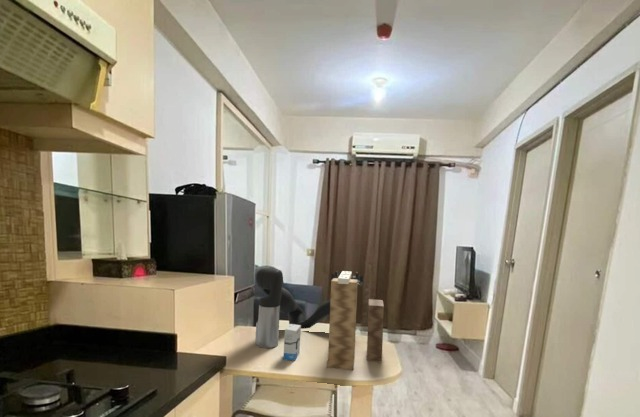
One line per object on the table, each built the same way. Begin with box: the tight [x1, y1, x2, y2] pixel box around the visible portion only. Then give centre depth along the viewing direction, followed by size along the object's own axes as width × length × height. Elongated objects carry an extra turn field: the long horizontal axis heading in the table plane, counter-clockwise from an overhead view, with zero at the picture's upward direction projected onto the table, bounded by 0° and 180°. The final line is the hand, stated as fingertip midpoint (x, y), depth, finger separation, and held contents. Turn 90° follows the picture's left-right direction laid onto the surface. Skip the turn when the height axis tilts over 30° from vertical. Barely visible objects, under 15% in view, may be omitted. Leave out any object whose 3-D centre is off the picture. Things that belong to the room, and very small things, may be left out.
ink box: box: [283, 324, 302, 361], centre depth 138 cm, size 8×5×12 cm, turn 168°
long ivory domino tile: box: [338, 270, 353, 284], centre depth 138 cm, size 4×22×2 cm, turn 172°
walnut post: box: [366, 298, 385, 362], centre depth 143 cm, size 6×12×22 cm, turn 172°
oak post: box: [326, 278, 358, 371], centre depth 134 cm, size 10×11×32 cm
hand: (346, 273), depth 144 cm, fingers open, 8 cm apart
